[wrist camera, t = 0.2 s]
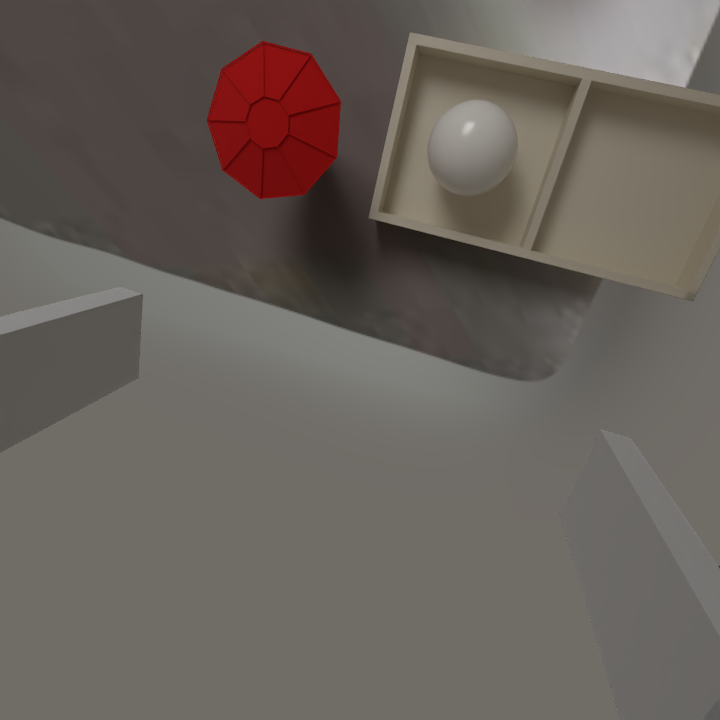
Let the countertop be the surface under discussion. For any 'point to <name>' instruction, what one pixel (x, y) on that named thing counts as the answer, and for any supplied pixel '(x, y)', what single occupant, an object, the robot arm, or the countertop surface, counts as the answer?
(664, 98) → the divided tray
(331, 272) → the countertop surface
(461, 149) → the white ball
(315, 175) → the gemstone
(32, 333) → the robot arm
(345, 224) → the countertop surface
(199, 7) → the countertop surface
